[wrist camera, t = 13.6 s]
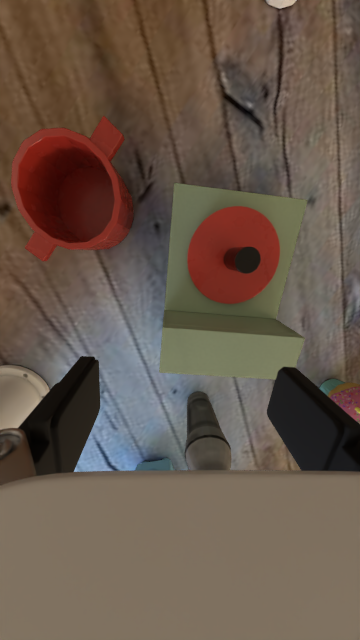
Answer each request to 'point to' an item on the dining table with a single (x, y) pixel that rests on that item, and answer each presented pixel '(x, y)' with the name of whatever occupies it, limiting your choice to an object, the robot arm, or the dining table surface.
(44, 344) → the dining table surface
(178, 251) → the green step stand
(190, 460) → the beverage cup
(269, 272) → the lid
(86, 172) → the pot
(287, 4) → the white cup
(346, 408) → the cupcake
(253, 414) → the dining table surface
